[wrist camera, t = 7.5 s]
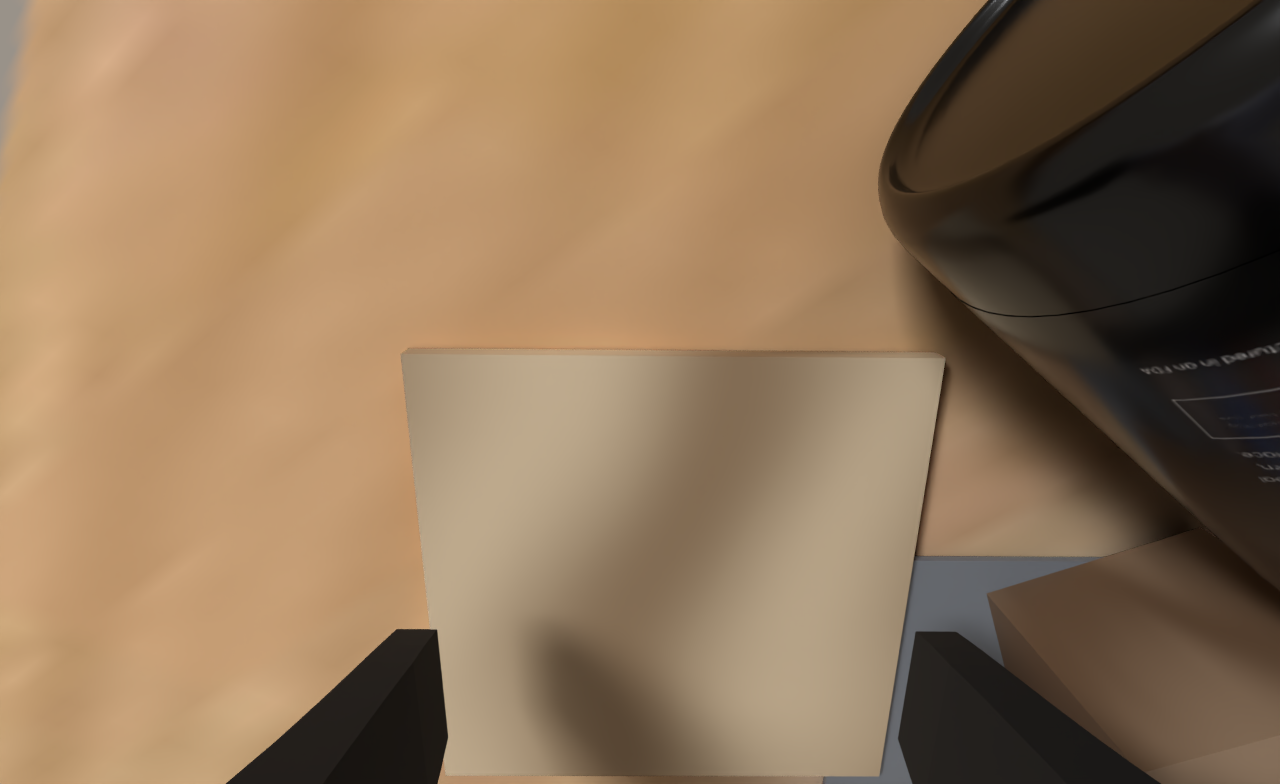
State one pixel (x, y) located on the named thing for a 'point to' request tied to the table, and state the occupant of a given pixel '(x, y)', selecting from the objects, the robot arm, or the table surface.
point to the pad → (668, 554)
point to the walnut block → (1157, 657)
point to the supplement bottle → (1119, 227)
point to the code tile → (950, 626)
